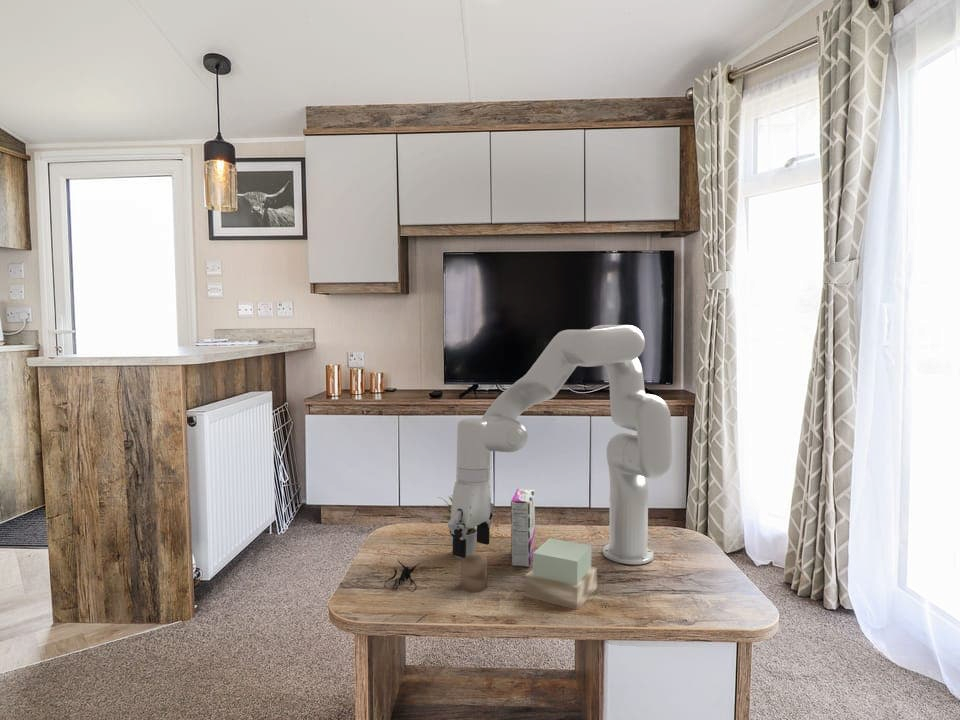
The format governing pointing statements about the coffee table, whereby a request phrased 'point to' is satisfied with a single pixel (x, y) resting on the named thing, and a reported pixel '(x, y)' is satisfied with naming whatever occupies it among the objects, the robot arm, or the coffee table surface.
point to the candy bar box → (522, 527)
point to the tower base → (561, 589)
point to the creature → (403, 576)
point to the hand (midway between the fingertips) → (471, 549)
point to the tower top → (562, 561)
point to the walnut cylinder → (474, 573)
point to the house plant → (469, 536)
